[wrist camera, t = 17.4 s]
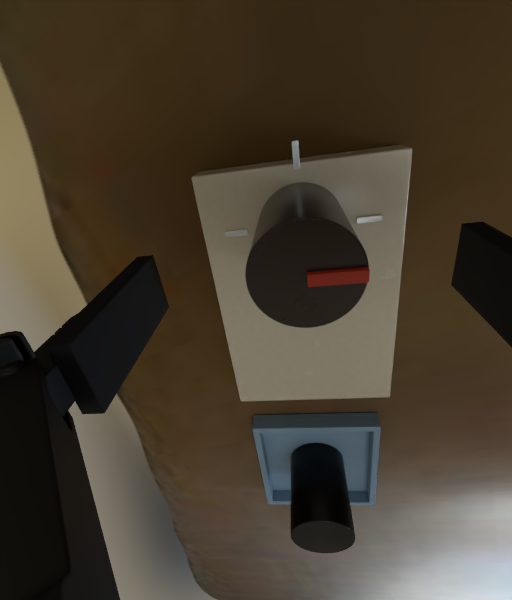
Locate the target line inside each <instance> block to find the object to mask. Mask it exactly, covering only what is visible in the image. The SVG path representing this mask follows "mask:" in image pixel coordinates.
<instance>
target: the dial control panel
mask: <svg viewBox="0 0 512 600" xmlns="http://www.w3.org/2000/svg"><path fill="white" fill-rule="evenodd" d="M292 155H293V159H290V160H282V161H275V162H267V163H260V164H252V165H245V166H238V167H230V168H223V169H215V170H208V171H200V172H199V173H197V174H196V175H194V176H193V177H192V178H191V179H192V184H193V188H194V193H195V197H196V202H197V206H198V211H199V215H200V220H201V224H202V229H203V233H204V238H205V242H206V247H207V252H208V256H209V261H210V265H211V270H212V274H213V279H214V283H215V288H216V292H217V297H218V301H219V306H220V310H221V315H222V319H223V324H224V328H225V333H226V337H227V342H228V346H229V351H230V355H231V360H232V365H233V369H234V374H235V378H236V383H237V387H238V392H239V396H240V401H274V400H310V399H345V398H380V397H390V391H391V380H392V369H393V358H394V347H395V336H396V325H397V314H398V303H399V292H400V281H401V270H402V259H403V248H404V237H405V226H406V215H407V204H408V193H409V182H410V171H411V160H412V148H410V147H407V146H404V145H393V146H386V147H379V148H371V149H364V150H356V151H349V152H341V153H334V154H327V155H319V156H312V157H304V158H299V142H298V140H296V141H292ZM299 182H307V183H313V184H317V185H319V186H322V187H324V188H325V189H327V190H328V191H330V192H331V193H332V194H333V195H334V196H335V197H336V199H337V200H338V202H339V204H340V205H341V207H342V209H343V211H344V213H345V215H346V216H347V218H348V220H349V222H350V224H351V226H352V228H353V229H354V231H355V233H356V235H357V237H358V239H359V240H360V242H361V244H362V246H363V248H364V250H365V252H366V255H367V258H368V263H369V270H370V276H369V282H368V283H367V286H366V289H365V291H364V293H363V295H362V297H361V299H360V300H359V302H358V303H357V304H356V305H355V307H354V308H353V309H352V310H351V311H350V312H348V313H347V314H346V315H344V316H343V317H341V318H340V319H338V320H336V321H334V322H332V323H329V324H326V325H323V326H319V327H312V328H299V327H292V326H287V325H284V324H281V323H279V322H277V321H275V320H273V319H271V318H270V317H268V316H267V315H266V314H264V313H263V312H262V311H261V310H260V309H259V308H258V307H257V305H256V304H255V303H254V301H253V300H252V298H251V296H250V294H249V291H248V289H247V285H246V278H245V271H246V264H247V259H248V256H249V252H250V249H251V245H252V242H253V238H254V235H255V231H256V228H257V224H258V221H259V217H260V214H261V211H262V208H263V206H264V204H265V203H266V202H267V200H268V199H269V198H270V197H271V195H273V194H274V193H275V192H276V191H277V190H279V189H281V188H282V187H284V186H287V185H290V184H293V183H299Z"/></svg>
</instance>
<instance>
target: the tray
mask: <svg viewBox="0 0 512 600" xmlns="http://www.w3.org/2000/svg"><path fill="white" fill-rule="evenodd" d="M252 430H253V435H254V440H255V444H256V449H257V454H258V459H259V463H260V468H261V473H262V478H263V483H264V487H265V492H266V497H267V502H268V504H291V454H292V453H293V451H294V450H295V449H296V448H298V447H299V446H302V445H304V444H308V443H323V444H327V445H330V446H333V447H334V448H336V449H337V450H338V451H339V452H340V453H341V454H342V456H343V461H344V468H345V474H346V481H347V487H348V494H349V500H350V506H375V497H376V484H377V471H378V458H379V445H380V431H381V426H380V422H379V419H378V415H377V412H373V413H328V414H282V415H254V419H253V428H252Z"/></svg>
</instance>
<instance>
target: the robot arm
mask: <svg viewBox="0 0 512 600" xmlns="http://www.w3.org/2000/svg"><path fill="white" fill-rule="evenodd" d="M451 285H452V286H453V287H454V288H455V289H456V290H457V291H458V292H459V293H460V294H461V295H462V296H463V297H464V298H465V299H466V301H467V302H468V303H469V304H470V305H471V306H472V307H473V308H474V309H475V310H476V311H477V312H478V313H479V314H480V315H481V316H482V317H483V318H484V319H485V320H486V321H487V322H488V323H489V324H490V325H491V326H492V327H493V328H494V329H495V330H496V331H497V333H498V334H499V335H500V336H501V337H502V338H503V339H504V340H505V341H506V342H507V343H508V344H509V345H510V346H511V347H512V238H511V237H510V236H508V235H506V234H504V233H502V232H500V231H499V230H497V229H495V228H493V227H491V226H489V225H488V224H486V223H484V222H475V223H465V224H462V227H461V232H460V238H459V244H458V249H457V255H456V261H455V267H454V272H453V278H452V284H451ZM168 308H169V306H168V302H167V299H166V296H165V293H164V289H163V286H162V283H161V280H160V276H159V273H158V270H157V267H156V263H155V260H154V257H153V255H151V256H142V257H137V258H136V259H135V260H134V261H133V262H131V263H130V264H129V265H128V266H127V267H126V268H125V269H124V270H123V271H122V272H121V273H120V274H119V275H118V276H117V277H116V278H115V279H114V280H113V281H112V282H111V283H110V284H109V285H108V286H106V287H105V288H104V289H103V290H102V291H101V292H100V293H99V294H98V295H97V296H96V297H95V298H94V299H93V300H92V301H91V302H90V303H89V304H88V305H87V306H86V307H85V308H84V309H82V310H81V312H79V313H78V314H76V315H75V316H73V317H71V318H70V319H69V320H68V321H67V322H66V323H65V324H64V325H63V326H62V328H59V329H58V330H57V331H56V332H55V335H52V336H51V337H50V338H49V339H48V340H47V341H46V342H45V343H44V344H42V345H41V346H40V347H39V348H38V349H37V350H36V351H35V352H33V350H32V348H31V346H30V345H29V343H28V341H27V340H26V338H25V336H24V335H23V333H22V332H18V331H13V332H7V333H4V334H0V600H120V598H119V594H118V590H117V586H116V582H115V578H114V575H113V571H112V567H111V563H110V560H109V556H108V552H107V548H106V544H105V540H104V536H103V533H102V529H101V525H100V521H99V517H98V513H97V509H96V506H95V502H94V498H93V494H92V491H91V486H90V483H89V479H88V475H87V471H86V468H85V463H84V460H83V456H82V452H81V448H80V444H79V440H78V437H77V433H76V429H75V425H74V421H73V418H72V416H71V415H70V413H69V411H68V410H69V408H70V407H71V406H72V404H73V403H74V401H76V403H77V405H78V407H79V409H80V410H81V412H82V414H98V413H105V412H106V410H107V408H108V407H109V405H110V403H111V402H112V400H113V398H114V397H115V395H116V393H117V392H118V390H119V388H120V387H121V385H122V384H123V382H124V380H125V379H126V377H127V375H128V374H129V372H130V370H131V369H132V367H133V365H134V364H135V362H136V360H137V359H138V357H139V356H140V354H141V352H142V351H143V349H144V347H145V346H146V344H147V342H148V341H149V339H150V337H151V336H152V334H153V332H154V331H155V329H156V328H157V326H158V324H159V323H160V321H161V319H162V318H163V316H164V314H165V313H166V311H167V309H168Z"/></svg>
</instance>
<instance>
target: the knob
mask: <svg viewBox="0 0 512 600" xmlns="http://www.w3.org/2000/svg"><path fill="white" fill-rule="evenodd" d="M369 276H370V270H369V263H368V258H367V255H366V252H365V250H364V248H363V246H362V244H361V242H360V240H359V239H358V237H357V235H356V233H355V231H354V229H353V228H352V226H351V224H350V222H349V220H348V218H347V216H346V215H345V213H344V211H343V209H342V207H341V205H340V204H339V202H338V200H337V199H336V197H335V196H334V195H333V194H332V193H331V192H330V191H328V190H327V189H325V188H324V187H322V186H319V185H317V184H313V183H307V182H299V183H293V184H290V185H287V186H284V187H282V188H281V189H279V190H277V191H276V192H275V193H274V194H273V195H271V197H270V198H269V199H268V200H267V202H266V203H265V204H264V206H263V208H262V211H261V214H260V217H259V221H258V224H257V228H256V231H255V235H254V238H253V242H252V245H251V249H250V252H249V256H248V259H247V264H246V271H245V278H246V285H247V289H248V291H249V294H250V296H251V298H252V300H253V301H254V303H255V304H256V305H257V307H258V308H259V309H260V310H261V311H262V312H263V313H264V314H266V315H267V316H268V317H270V318H271V319H273V320H275V321H277V322H279V323H281V324H284V325H287V326H292V327H299V328H312V327H319V326H323V325H326V324H329V323H332V322H334V321H336V320H338V319H340V318H341V317H343V316H344V315H346V314H347V313H348V312H350V311H351V310H352V309H353V308H354V307H355V305H356V304H357V303H358V302H359V300H360V299H361V297H362V295H363V293H364V291H365V289H366V286H367V283H368V282H369Z"/></svg>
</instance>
